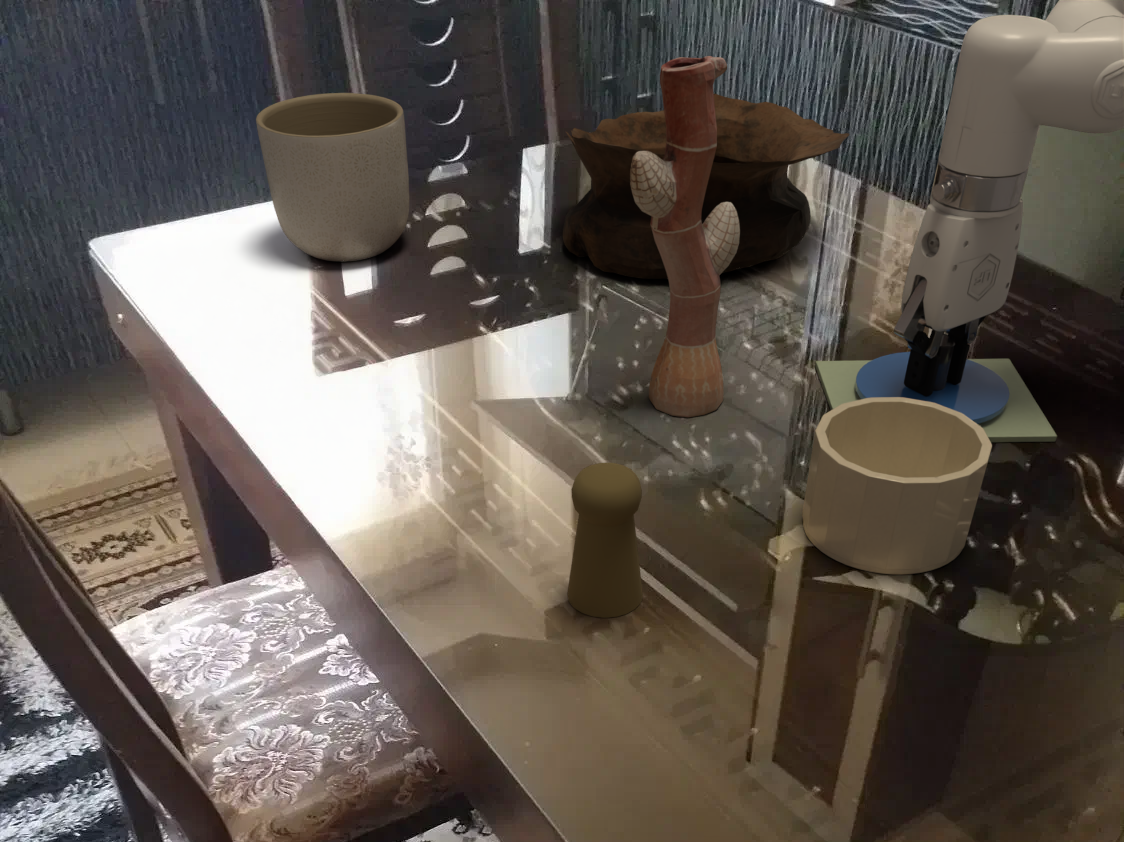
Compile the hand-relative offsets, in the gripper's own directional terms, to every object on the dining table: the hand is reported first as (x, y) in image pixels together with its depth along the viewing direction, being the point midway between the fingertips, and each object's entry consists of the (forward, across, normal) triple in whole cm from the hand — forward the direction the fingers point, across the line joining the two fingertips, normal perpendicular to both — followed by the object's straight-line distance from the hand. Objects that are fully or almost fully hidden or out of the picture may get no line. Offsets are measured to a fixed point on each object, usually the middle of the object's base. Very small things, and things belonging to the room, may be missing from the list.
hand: (932, 383), depth 112 cm
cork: (+2, -45, -6) cm, 45 cm away
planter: (+3, -27, +70) cm, 76 cm away
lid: (+1, 0, 0) cm, 1 cm away
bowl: (+2, +8, +47) cm, 47 cm away
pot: (+2, -20, -13) cm, 24 cm away
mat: (+2, 0, 0) cm, 2 cm away
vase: (+2, -20, +15) cm, 25 cm away
